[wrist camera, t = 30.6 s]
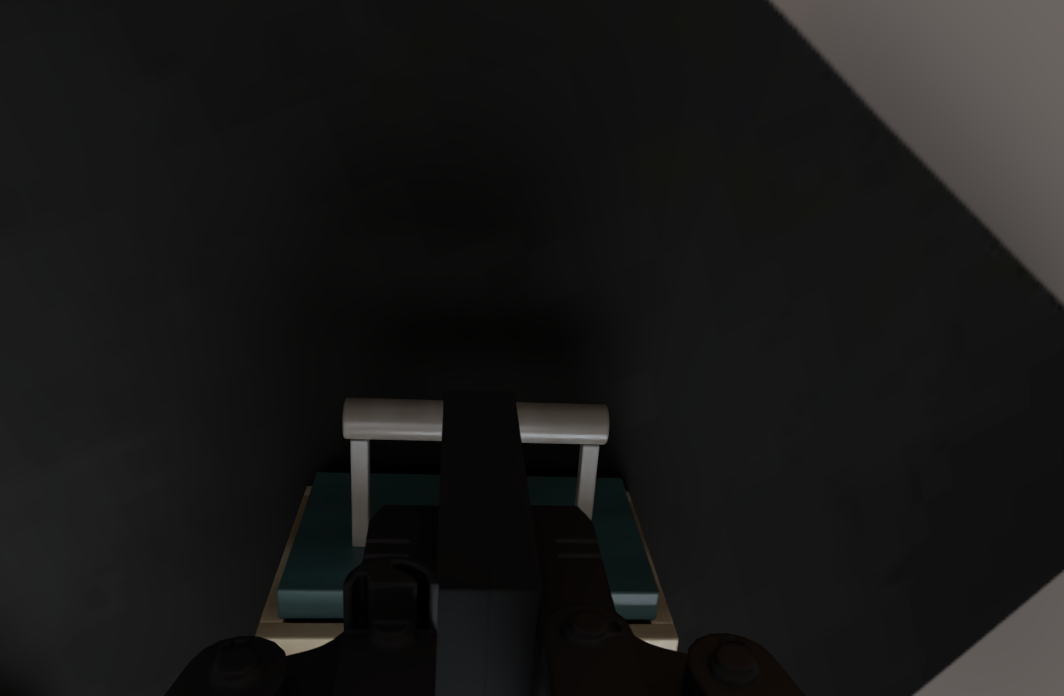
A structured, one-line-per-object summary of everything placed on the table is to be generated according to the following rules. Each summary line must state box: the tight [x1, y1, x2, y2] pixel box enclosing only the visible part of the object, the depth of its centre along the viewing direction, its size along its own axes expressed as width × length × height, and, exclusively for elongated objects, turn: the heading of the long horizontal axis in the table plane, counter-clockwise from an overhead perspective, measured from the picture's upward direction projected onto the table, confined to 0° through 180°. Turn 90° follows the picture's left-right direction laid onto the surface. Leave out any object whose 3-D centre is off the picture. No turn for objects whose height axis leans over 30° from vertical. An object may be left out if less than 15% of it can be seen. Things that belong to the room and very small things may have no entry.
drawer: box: [277, 398, 660, 623], centre depth 33 cm, size 20×13×8 cm, turn 176°
